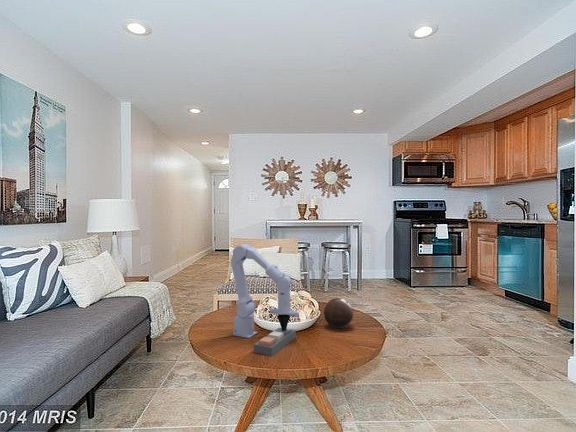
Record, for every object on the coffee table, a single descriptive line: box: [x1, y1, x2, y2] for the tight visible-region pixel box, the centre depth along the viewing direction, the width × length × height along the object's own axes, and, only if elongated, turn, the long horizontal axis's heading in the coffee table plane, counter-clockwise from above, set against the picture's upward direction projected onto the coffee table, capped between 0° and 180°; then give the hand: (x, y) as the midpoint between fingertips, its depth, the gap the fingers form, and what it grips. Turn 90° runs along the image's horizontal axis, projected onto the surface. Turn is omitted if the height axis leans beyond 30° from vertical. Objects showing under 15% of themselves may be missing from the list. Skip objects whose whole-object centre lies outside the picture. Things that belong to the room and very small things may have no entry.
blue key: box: [277, 328, 292, 334], centre depth 164 cm, size 5×5×2 cm
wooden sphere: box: [323, 297, 354, 329], centre depth 180 cm, size 15×15×15 cm
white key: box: [267, 330, 283, 340], centre depth 156 cm, size 5×5×2 cm
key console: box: [253, 327, 297, 357], centre depth 156 cm, size 9×24×4 cm, turn 154°
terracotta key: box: [258, 336, 275, 346], centre depth 149 cm, size 5×5×2 cm
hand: (284, 330), depth 164 cm, fingers closed, pressing on blue key
